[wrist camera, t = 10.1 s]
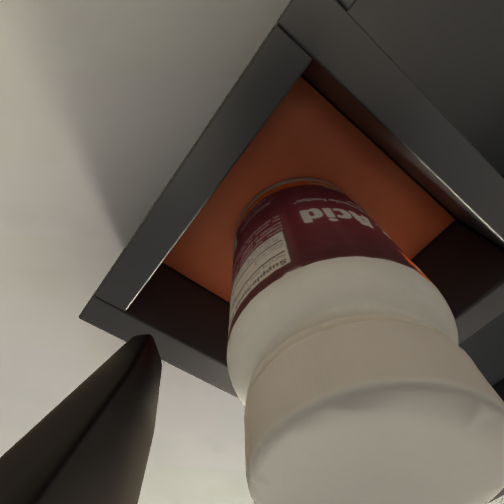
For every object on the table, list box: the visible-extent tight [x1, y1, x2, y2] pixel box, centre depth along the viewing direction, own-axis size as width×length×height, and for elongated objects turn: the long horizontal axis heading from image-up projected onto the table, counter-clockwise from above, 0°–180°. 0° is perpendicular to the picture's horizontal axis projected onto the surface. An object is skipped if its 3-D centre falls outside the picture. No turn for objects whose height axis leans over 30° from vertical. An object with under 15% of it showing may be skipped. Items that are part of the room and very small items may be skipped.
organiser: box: [79, 0, 504, 503], centre depth 11 cm, size 19×19×4 cm
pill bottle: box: [227, 178, 504, 504], centre depth 9 cm, size 5×5×8 cm
